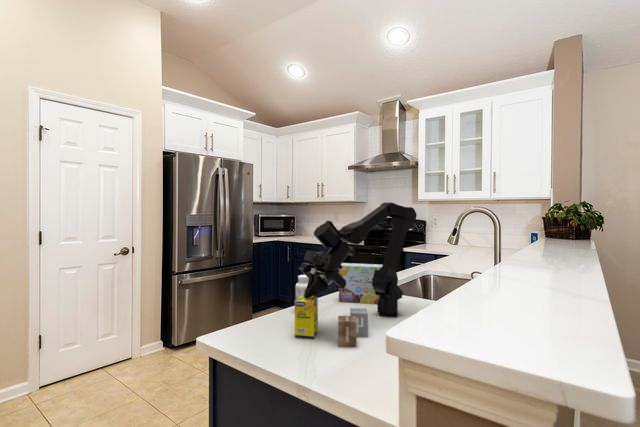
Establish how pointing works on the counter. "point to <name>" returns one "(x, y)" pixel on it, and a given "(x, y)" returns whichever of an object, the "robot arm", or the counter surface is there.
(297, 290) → the supplement bottle
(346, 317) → the walnut block
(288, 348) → the counter surface
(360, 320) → the slate block
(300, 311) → the supplement box
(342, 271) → the snack box
